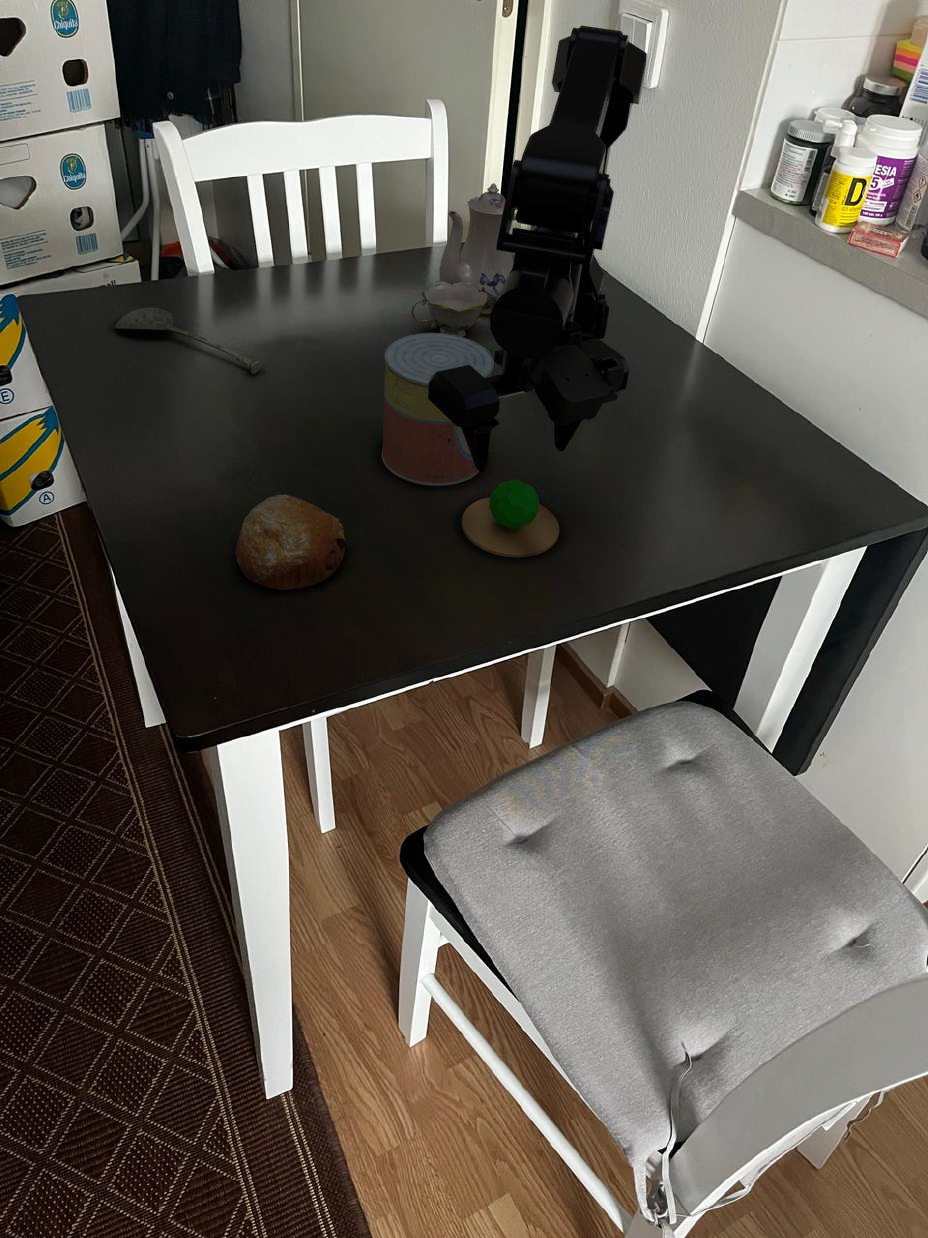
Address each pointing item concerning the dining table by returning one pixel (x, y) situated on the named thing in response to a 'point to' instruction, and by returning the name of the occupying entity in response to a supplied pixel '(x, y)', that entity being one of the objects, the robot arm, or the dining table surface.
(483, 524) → the coaster
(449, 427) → the canned food
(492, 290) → the chinaware
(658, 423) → the dining table surface
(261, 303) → the dining table surface
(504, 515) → the polyhedron
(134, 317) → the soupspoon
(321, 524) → the bread roll
